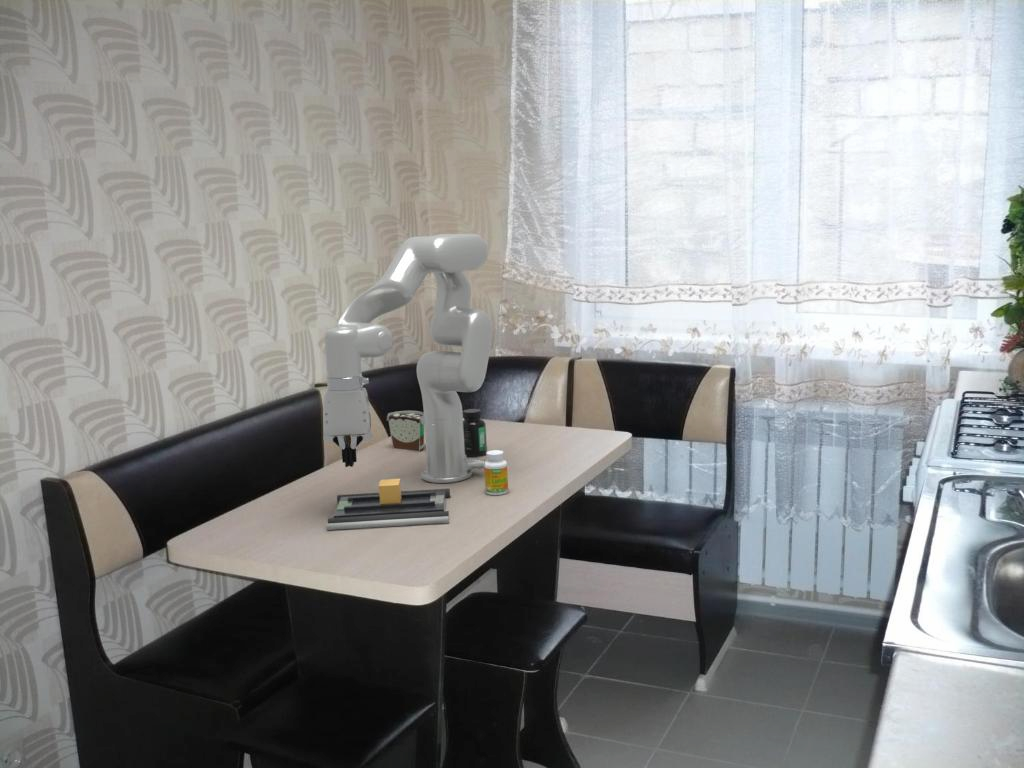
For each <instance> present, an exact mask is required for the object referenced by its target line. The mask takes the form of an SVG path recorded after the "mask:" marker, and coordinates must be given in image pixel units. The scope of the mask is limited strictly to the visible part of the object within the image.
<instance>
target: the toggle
mask: <svg viewBox="0 0 1024 768" xmlns="http://www.w3.org/2000/svg"><path fill="white" fill-rule="evenodd" d="M378 484H379V485H378V493H379V496H380V504H392V503H401V491H402V487H401V479H400V478H391V479H390V478H389V479H380V481H379V483H378Z"/></svg>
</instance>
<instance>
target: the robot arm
mask: <svg viewBox="0 0 1024 768" xmlns="http://www.w3.org/2000/svg"><path fill="white" fill-rule="evenodd" d="M488 255H489V247H488V244H487V241H486V240H485V239H484V238H483V237H482V236H481V235H479V234H476V233H441V234H440V233H439V234H435V235H431V236H430V235H429V236H426V235H425V236H422V235H421V236H412V237H408V238H406V240H405V241H403V243H402V244H401V246H400V247H399V249H398V250H397V252H396V254H395V255H394V257H393V259H392V261H391V262H390V264H389V266H388V268H386V270H385V272H384V273H383V275H382V277H381V278H380V280H379V281H378V282H377V283H375V284H374V285H373V286H371V287H370V288H368V289H367V290H366V291H364V292H363V293H361V294H360V295H359V296H357V297H356V298H355V299H354V300H352V301H351V302H350V303H349V304H348V306H347V307H346V308H345V309H344V311H343V312H342V314H341V316H340V317H339V318H338V321H337V322H336V324H335V326H334V327H331V328H329V329H327V330H326V331H325V332H324V350H325V352H324V353H325V367H326V381H327V384H326V385H327V389H325V391H324V397H323V408H322V409H323V413H322V414H323V415H322V417H323V421H322V422H323V441H326V442H332V443H334V444H336V445H337V446H338V447H339V448H340V450H341V459H342V460H341V461H342V463H344V466H345V468H349V467H350V468H351V467H354V465H355V463H357V447H358V446H359V445H360V443H362V442H363V441H367V440H371V439H372V438H373V432H372V429H371V428H372V418H371V408H370V400H369V395H368V391H367V389H366V387H363V386H364V385H365V386H366V385H369V383H370V381H369V379H370V378H369V377H365V376H363V374H362V361H361V360H362V358H379V357H382V356H384V355H386V354H387V353H388V352H389V351H390V350H391V348H392V346H393V344H394V337H393V334H392V332H391V330H390V329H389V328H388V327H387V326H385V325H383V324H379V323H372V321H374V320H375V319H377V318H378V317H381V316H382V315H384V314H385V315H386V314H388V313H390V312H392V311H395V310H398V309H401V308H403V307H405V306H407V305H408V304H410V303H411V302H412V300H413V299H414V297H415V295H416V294H417V292H418V290H419V288H420V286H421V285H422V283H423V282H424V280H425V278H427V277H426V276H427V275H429V274H433V276H434V278H435V279H434V280H435V282H436V293H435V295H436V296H435V300H434V305H433V306H434V307H433V313H432V317H431V322H430V323H431V324H430V332H429V333H430V337H431V339H432V341H433V342H434V343H435V344H437V345H440V346H442V347H451V348H452V347H454V348H461V350H460V351H452V350H451V351H450V350H449V351H448V350H431V351H428V352H426V353H424V354H423V355H421V357H420V358H419V359H418V361H417V363H416V377H417V381H418V384H419V388H420V393H421V399H422V407H423V413H424V441H425V450H426V451H425V453H426V467H427V468H426V469H425V470H423V471H421V478H422V480H423V481H425V482H428V483H429V482H430V483H436V484H437V483H439V484H440V483H441V484H444V483H445V484H446V483H456V482H462V481H464V480H466V479H467V480H468V479H469V478H471V477H472V476H473V470H472V469H477V470H478V469H484V463H485V462H484V460H479V458H478V459H469V458H468V457H466V455H465V448H464V431H463V420H464V418H463V404H462V402H461V401H462V400H461V399H460V396H459V394H458V393H457V392H460V393H474V392H476V391H479V389H480V388H481V387H482V385H483V383H484V381H485V378H486V374H487V369H488V363H489V358H490V352H491V349H492V348H491V347H492V341H493V335H494V334H493V333H494V332H493V331H494V330H493V328H494V327H493V323H492V320H491V317H490V316H489V314H488V313H487V312H486V311H484V310H482V309H479V308H470V306H471V296H472V286H471V283H470V280H469V278H468V277H467V274H466V273H465V272H467V271H474V270H478V269H480V268H481V267H483V266H484V265H485V263H486V261H488V260H487V259H488ZM346 436H348V437H349V436H350V438H351V439H350V444H349V445H348V444H347V439H346Z"/></svg>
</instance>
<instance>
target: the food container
mask: <svg viewBox="0 0 1024 768" xmlns="http://www.w3.org/2000/svg"><path fill="white" fill-rule="evenodd" d="M386 421H387V422H388V425H389V432H390V438H391V446H392V450H399V451H405V452H406V451H407V452H413V453H414V452H415V453H421V452H423V451H424V447H425V425H424V411H418V410H400V411H394V412H392V411H391V412H389V413H387V415H386Z"/></svg>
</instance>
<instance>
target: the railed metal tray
mask: <svg viewBox="0 0 1024 768" xmlns="http://www.w3.org/2000/svg"><path fill="white" fill-rule="evenodd" d="M446 498H447V497H446V496H445V491H433V492H417V493H401V503H392V504H380V496H379V495H367V496H350V497H341V498H340V501H339V504H338V503H337V506H336V509H335V511H334V514H333V518H340V517H357V516H373V515H390V514H406V513H423V512H439V511H446V503H447V502H446V500H447V499H446Z"/></svg>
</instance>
